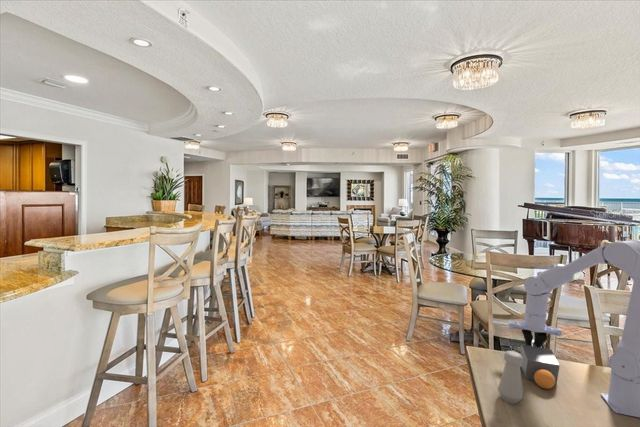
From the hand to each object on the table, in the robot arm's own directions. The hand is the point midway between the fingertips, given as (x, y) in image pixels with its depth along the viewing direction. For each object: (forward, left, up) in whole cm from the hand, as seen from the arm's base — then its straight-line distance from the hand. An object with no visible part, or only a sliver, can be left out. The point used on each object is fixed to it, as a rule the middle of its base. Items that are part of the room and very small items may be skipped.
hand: (531, 353), depth 108 cm
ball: (0, +14, -1) cm, 14 cm away
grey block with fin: (0, +4, -3) cm, 5 cm away
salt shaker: (+11, +24, -4) cm, 26 cm away
